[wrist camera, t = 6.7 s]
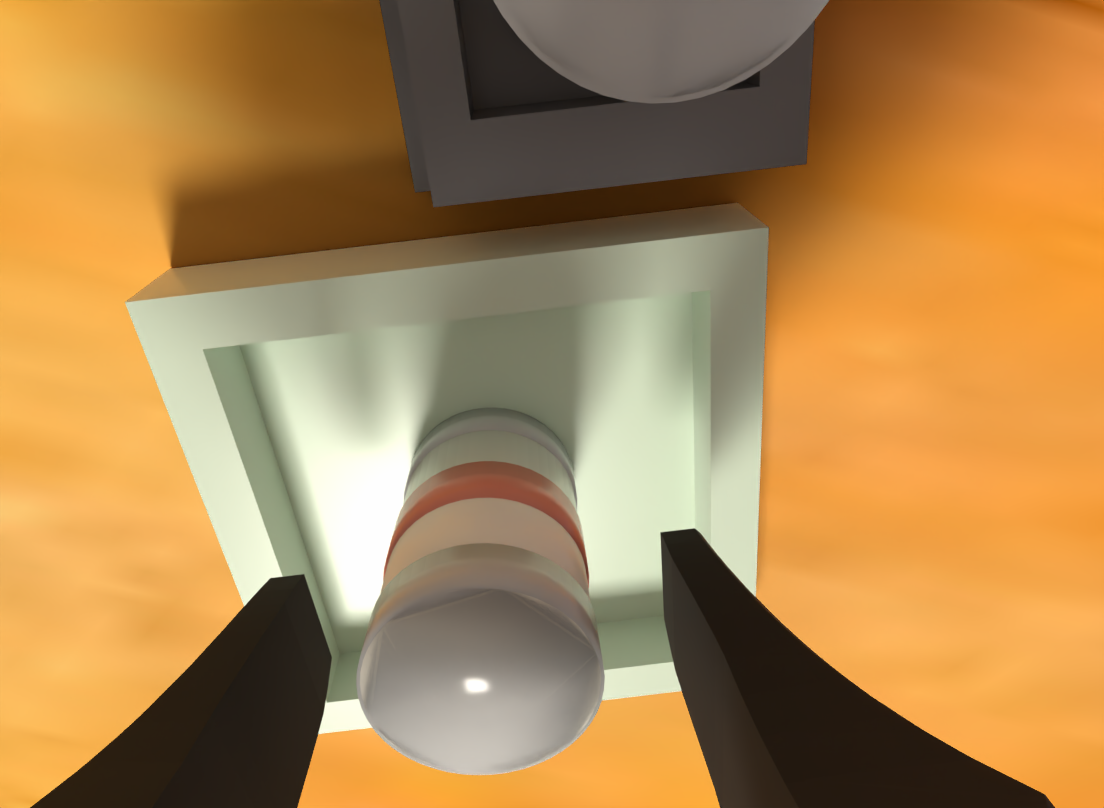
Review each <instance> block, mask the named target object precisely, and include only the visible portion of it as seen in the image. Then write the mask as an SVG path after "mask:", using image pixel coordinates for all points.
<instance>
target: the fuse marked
mask: <svg viewBox="0 0 1104 808" xmlns="http://www.w3.org/2000/svg"><path fill="white" fill-rule="evenodd" d="M604 681H605V675H604V667H603V660H602V653H601V647H600V641H599V634H598V628H597V621H596V616H595V613H594V610H593V606H592V604H591V602H590V596H589V571H588V563H587V557H586V550H585V544H584V537H583V531H582V526H581V522H580V519H579V516H578V514H577V493H576V486H575V479H574V473H573V467H572V463H571V460H570V457H569V454H568V452H567V450H566V448H565V446H564V445H563V443H562V442H561V440H560V439H559V438H558V437H557V436H556V434H555V433H554V432H553V431H552V430H550V429H549V428H548V427H547V426H546V425H544V424H543V423H541V422H540V421H539V420H537V419H535V418H533V417H531V416H529V415H527V414H524V413H521V412H518V411H515V410H510V409H505V408H478V409H472V410H468V411H464V412H461V413H459V414H456V415H454V416H451V417H450V418H448V419H446V420H444V421H443V422H441V423H440V424H438V425H437V426H436V427H434V428H433V429H432V430H431V431H430V432H429V433H428V434H427V435H426V437H425V438H424V439H423V440H422V442H421V443H420V445H419V447H418V448H417V450H416V452H415V455H414V457H413V460H412V463H411V467H410V471H409V475H408V478H407V482H406V487H405V491H404V501H403V507H402V508H401V510H400V513H399V515H398V518H397V520H396V524H395V527H394V531H393V535H392V539H391V542H390V546H389V550H388V554H387V557H386V562H385V566H384V573H383V585H382V588H381V592H380V596H379V598H378V599H377V601H376V603H375V606H374V608H373V611H372V614H371V618H370V621H369V625H368V629H367V633H366V636H365V640H364V644H363V648H362V652H361V655H360V659H359V664H358V668H357V678H356V686H357V694H358V699H359V702H360V705H361V708H362V711H363V713H364V715H365V717H366V719H367V720H368V722H369V723H370V725H371V726H372V728H373V729H374V730H375V732H376V733H377V734H378V735H379V736H380V737H381V738H382V739H383V740H384V741H385V742H386V743H387V744H389V745H390V746H391V747H392V748H394V749H395V750H396V751H398V752H400V753H401V754H403V755H404V756H406V757H408V758H410V759H412V760H414V761H416V762H418V763H420V764H423V765H426V766H428V767H431V768H434V769H438V770H442V771H446V772H451V773H458V774H468V775H493V774H501V773H508V772H512V771H517V770H521V769H525V768H528V767H531V766H533V765H536V764H539V763H541V762H543V761H545V760H547V759H550V758H551V757H553V756H555V755H556V754H558V753H560V752H562V751H563V750H564V749H566V748H567V747H568V746H570V745H571V744H572V743H573V742H574V741H575V740H576V739H578V738H579V737H580V736H581V735H582V734H583V732H584V731H585V730H586V729H587V727H588V726H589V725H590V723H591V722H592V720H593V718H594V717H595V715H596V713H597V711H598V709H599V706H600V703H601V701H602V696H603V692H604Z"/></svg>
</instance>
